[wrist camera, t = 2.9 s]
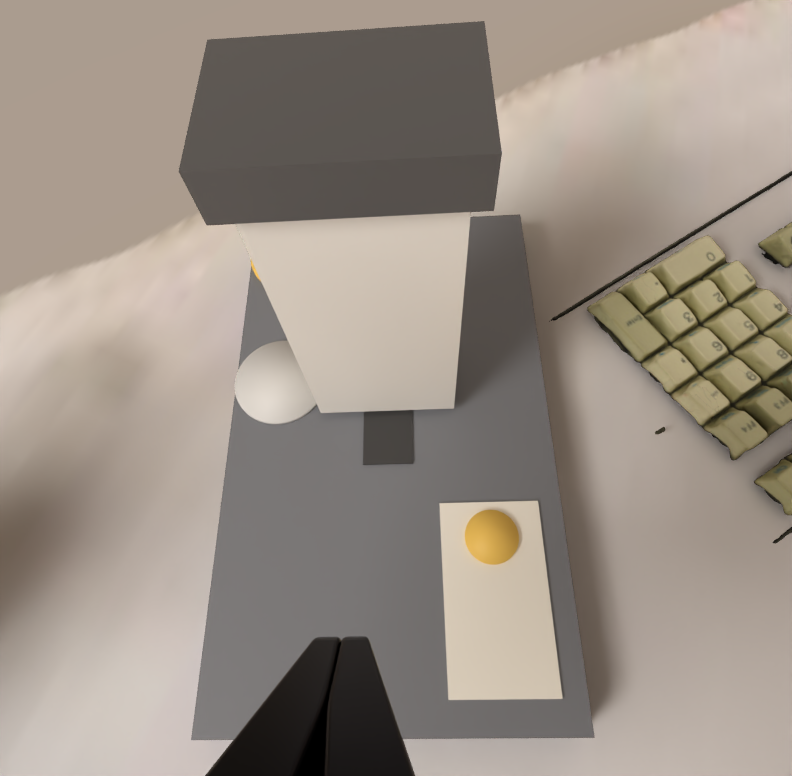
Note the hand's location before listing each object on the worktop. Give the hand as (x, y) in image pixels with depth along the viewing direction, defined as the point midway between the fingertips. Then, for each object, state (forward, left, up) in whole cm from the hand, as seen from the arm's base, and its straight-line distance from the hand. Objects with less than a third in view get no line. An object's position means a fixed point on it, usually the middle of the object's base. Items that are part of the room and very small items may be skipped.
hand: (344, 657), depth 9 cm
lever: (+9, -3, -9) cm, 14 cm away
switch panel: (+8, -2, -11) cm, 14 cm away
